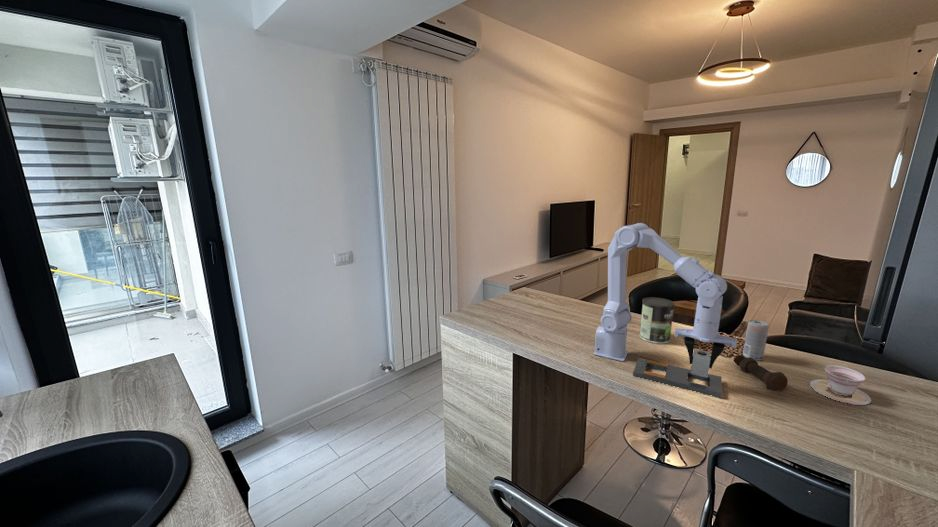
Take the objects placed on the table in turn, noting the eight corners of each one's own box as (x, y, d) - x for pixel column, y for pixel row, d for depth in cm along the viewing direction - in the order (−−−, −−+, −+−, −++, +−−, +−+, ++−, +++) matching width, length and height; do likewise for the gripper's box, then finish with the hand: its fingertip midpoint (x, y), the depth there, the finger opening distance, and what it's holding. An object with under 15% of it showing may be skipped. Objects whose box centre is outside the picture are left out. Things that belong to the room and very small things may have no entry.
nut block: (690, 373, 105) (693, 354, 103) (691, 367, 108) (694, 348, 107) (707, 377, 103) (710, 357, 101) (707, 371, 106) (710, 351, 105)
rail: (632, 376, 111) (633, 371, 110) (638, 362, 119) (638, 357, 119) (721, 398, 99) (722, 392, 99) (720, 381, 107) (721, 376, 107)
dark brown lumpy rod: (738, 369, 117) (779, 395, 103) (725, 363, 117) (765, 388, 102) (749, 354, 116) (792, 378, 102) (736, 347, 116) (778, 370, 101)
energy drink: (760, 355, 122) (766, 321, 120) (765, 362, 118) (771, 327, 115) (740, 352, 125) (746, 318, 122) (744, 359, 120) (750, 324, 117)
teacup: (878, 411, 93) (884, 389, 92) (815, 397, 99) (819, 376, 98) (862, 388, 103) (867, 368, 102) (805, 377, 109) (809, 357, 108)
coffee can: (674, 338, 136) (679, 301, 133) (663, 346, 129) (667, 308, 126) (646, 329, 143) (649, 295, 140) (633, 337, 137) (637, 301, 134)
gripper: (675, 319, 102) (670, 364, 105) (740, 330, 95) (732, 378, 98) (677, 311, 108) (672, 354, 111) (738, 321, 100) (731, 366, 104)
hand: (700, 364), depth 105 cm, fingers closed on nut block, 4 cm apart
